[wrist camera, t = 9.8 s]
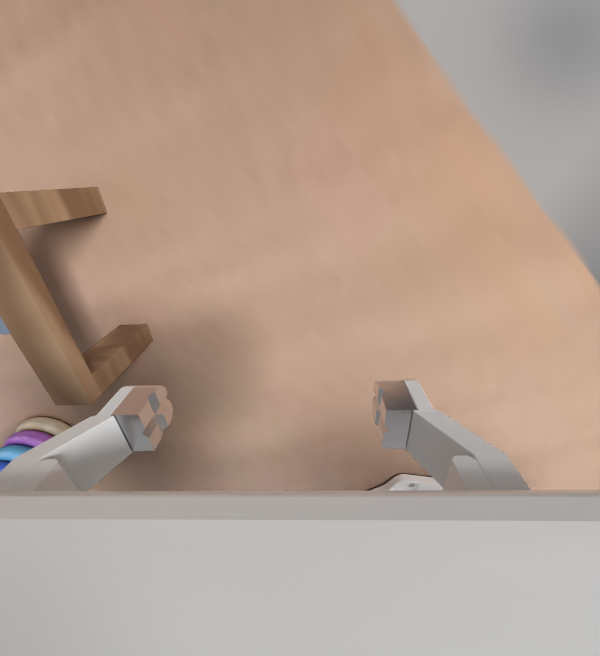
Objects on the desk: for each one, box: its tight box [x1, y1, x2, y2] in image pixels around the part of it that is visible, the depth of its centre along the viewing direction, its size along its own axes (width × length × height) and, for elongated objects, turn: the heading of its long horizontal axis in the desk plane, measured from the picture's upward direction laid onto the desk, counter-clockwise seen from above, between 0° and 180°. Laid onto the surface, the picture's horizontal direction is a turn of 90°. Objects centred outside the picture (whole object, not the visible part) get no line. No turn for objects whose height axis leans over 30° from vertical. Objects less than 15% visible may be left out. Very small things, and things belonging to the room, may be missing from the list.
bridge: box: [0, 187, 153, 405], centre depth 23 cm, size 3×15×10 cm, turn 3°
